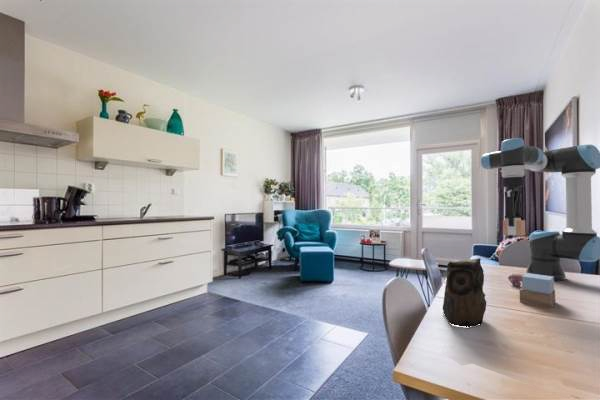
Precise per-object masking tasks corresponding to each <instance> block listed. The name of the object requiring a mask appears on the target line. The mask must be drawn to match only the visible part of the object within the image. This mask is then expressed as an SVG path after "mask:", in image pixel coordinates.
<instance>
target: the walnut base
mask: <svg viewBox="0 0 600 400" xmlns="http://www.w3.org/2000/svg"><path fill="white" fill-rule="evenodd" d="M519 303H522V304H526V305H532V306H537V307H543V308H547V309H552V308H553V307H554V305H555V304H556V289H554V291H553V292H552V293H551V294H545V293H539V292H533V291H528V290H522V287H520V288H519Z"/></svg>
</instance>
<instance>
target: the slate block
mask: <svg viewBox="0 0 600 400" xmlns="http://www.w3.org/2000/svg"><path fill="white" fill-rule="evenodd" d="M522 275H523V276H522V282H521V286H522V287H521V288H522V290H528V291H533V292H539V293H545V294H551V293H552V292H553V291H554V290H555V280H554V277H553V276H545V275H538V274H530V273H527V272H526V273H525V274H522Z"/></svg>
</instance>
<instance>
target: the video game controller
mask: <svg viewBox="0 0 600 400" xmlns="http://www.w3.org/2000/svg"><path fill="white" fill-rule="evenodd" d="M523 275H524V274H521V273H516V274H515V273H512V274H510V275H509V276H508V277H507V278H508V281H509V282H510V283H511V284H512V285H515V286H516V287H520V286H522V276H523Z"/></svg>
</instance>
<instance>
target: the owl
mask: <svg viewBox="0 0 600 400" xmlns="http://www.w3.org/2000/svg"><path fill="white" fill-rule="evenodd" d="M484 272H485V271H484V268H483V267H482V264H481V258H480V257H477V258H472V259H464V260H463V259H460V260H456V261H449V262H448V263H447V266H446V272H445V276H446V278H445V279H446V280H445V281H446V282H445V288H444V296H443V303H442V304H443V305H442V311H443V312H442V314H443V313H444V314H445V315H444V314H443V315H444V317H445V316H446V317H447V318H446V317H445V318H446V320H447V319H448V320H449V321H448V323H449V322H450V323H451V324H454V325H459V326H466V327H467V326H468V327H470V326H476V325H478V324H480V325H478V326H482V325H483V324H484V322H483V321H484V316H485V312H486V310H487V300H486V294H485V292H484V288H483V287H484V284H485V283H484V282H485V274H484ZM481 324H482V325H481ZM476 327H477V326H476Z"/></svg>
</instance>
